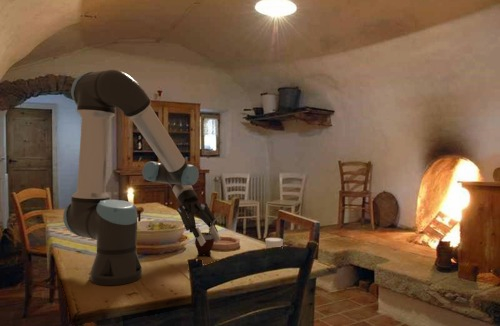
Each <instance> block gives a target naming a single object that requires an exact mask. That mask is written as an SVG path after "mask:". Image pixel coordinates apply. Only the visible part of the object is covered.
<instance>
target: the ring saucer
mask: <svg viewBox="0 0 500 326" xmlns="http://www.w3.org/2000/svg"><path fill="white" fill-rule="evenodd" d="M219 236H220V235H219ZM220 238H221V239H220V240H219V242H218V243H216V242H215V240H214V244H213V247H212V249H211V250H217V251H229V250H236V249H238V248H240V247H241V245H240V238H236V237H233V236H223V235H222V236H220Z"/></svg>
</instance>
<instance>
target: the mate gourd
mask: <svg viewBox="0 0 500 326" xmlns="http://www.w3.org/2000/svg"><path fill="white" fill-rule="evenodd" d="M219 218H221V216H218V217H217V218H215V220H214V221H213V222H212V225H211V228H210V231H209V230H208V232H207V231H206V232H201V233H202V235H203V237H204V239H205V241H206V242H205V244H204V245H203V246H201V245H200V244H199V242H198V240H197V238H195V240H194V243H195V248H196V249H197V255H196V256H197V257H202V256H206V257H211V254H212V253H211V251H212V250H213V249H212V247H213V244H214V238H213V235H212V234H211V233H210V232H211V229H212V227H213V224H214V223H215V221H216V220H217V221H218V220H219Z"/></svg>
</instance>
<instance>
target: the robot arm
mask: <svg viewBox="0 0 500 326" xmlns="http://www.w3.org/2000/svg"><path fill="white" fill-rule="evenodd" d="M71 85H72V86H71V87H70V88H71V89H70V93H71V98H72V100H73V101H74V104H75V105H76V106H77V107H76V112H77V113H78V115H80V116H81V124H80V125H81V126H80V139H79V140H80V141H79V155H78V172H77V175H78V176H77V188H76V191H75V192H74V193H73V194H72V195H71V201H70V202H69V203H68V205H67V206H66V207H65V209H64V210H63V215H62V216H63V218H62V219H63V224H64V226H65V228H66V229H67V230H68V231H69V232H70V233H72V234H73V235H76V236H78V237H81V238H87V239H92V240H96V253H95V257H94V261H93V263H92V266H91V269H90V273H89V277H90V279H89V280H90V282H91V283H93V284H95V285H98V286H99V285H100V286H102V285H103V286H119V285H126V284H130V283H133V282H136V281H138V280H140V279H141V278H142V275H143V269H142V264H141V262H140V258H139V256H138V252H137V241H138V239H137V238H138V237H137V235H138V214H137V211H138V210H137V206H136V205H135V203H132V202H130V201H126V200H124V199H123V200H121V199H110V197H111V196H110V195H109V194H108V192H107V191H106V187H107V173H108V172H107V170H108V155H109V154H108V153H109V152H108V151H109V137H110V122H111V119H112V118H114V117H115V115H116V109H118V110H120V111H121V112H122V114H123V115H124V117H126V118H129V119H130V120H131V122H133V124H134V125H135V126H136V128H137V129H138V131H139V132H140V134H141V135H142V137H143V138H144V140H145V142H146V143H148V146H149V147H150V148H151V150H152V152H153V153H154V154H155V155H156V156H157V158H158V160H159V161H160V162H157V161H152V160H151V161H148V162H146V163H145V164H144V166H142V172H141V173H142V177H143V178H144V180H146V181H147V182H148V181H149V182H153V183H161V184H166V185H169V186H170V188H171V190H172V192H173V194H174V196H175V198H176V199H177V201H178V204H179V206H178V208H177V209H176V212H177V213H178V214H179V216H180V219H181V220H182V223H183V226H184V228H185V230H186V231H187V232H188V231H189V233H190V234H191V233H192V234H193V236H194V238H195V239H196V238H197V240H198V242H199V244H200V245H201V246H203V245H204V244H205V242H206V241H205V239H204V237H203V235H202V233H203V232H201V230H200V228H199V227H197V224H196V220H195V219H196V217H195V215H196V216H197V217H198V218H200V219H201V220H202V222H203V223H205V224H206V226H208V232H209V231H210V228H211V225H212V222H213V221H214V220H215V219H216V218H215V216H214V214H213V213H212V211H211V210H210V208H209V207H208V206H209V205H208V203H207V202H204V203H201V202H200V201H199V198H198V195H197V193H196V191H195V190H194V188H193V185H195V184H196V183H197V182H198V180H199V178H200V177H199V176H200V173H199V169H198V167H197V166H195V165H193V164H188V162H187V161H186V159H185V158H184V156H183V154H182V153H181V151H180V149H179V148H178V147H177V145H176V143H175V142H174V141H173V139H172V137H171V136H170V134H169V132H168V131H167V130H166V127H164V125H163V124H162V122H161V120H160V119H159V117H158V115H157V113H156V112H155V111H154V109H153V108H152V106H151V105H152V101H151V99H150V97H149V96H148V94H147V92H146V91H145V89H144V88H143V87H142V86H141V84H139V82H138V81H136V80H135V79H134V78H133V77H131V75H129V74H127V73H126V72H124V71H122V70H118V69H107V70H100V71H99V70H98V71H90V72H89V71H88V72H86V73H83V74H80V75H78V76H77V77H76V78H75V79H74V81H73V82H72V84H71ZM217 224H218V219H217V220H216V221H215V223H214V224H213V227H212V229H211V232H210V233H211V234H212V235H213V238H214V240H215V242H216V243H218V242H219V240H220V239H221V238H220V234H219V233H218V232H219V231H218V228H217V227H216V225H217Z"/></svg>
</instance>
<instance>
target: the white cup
mask: <svg viewBox="0 0 500 326" xmlns="http://www.w3.org/2000/svg"><path fill="white" fill-rule="evenodd" d="M283 244H284V239H283V238H281V237H266V238H265V249H266V248H270V247H281V246H284V245H283Z"/></svg>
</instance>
